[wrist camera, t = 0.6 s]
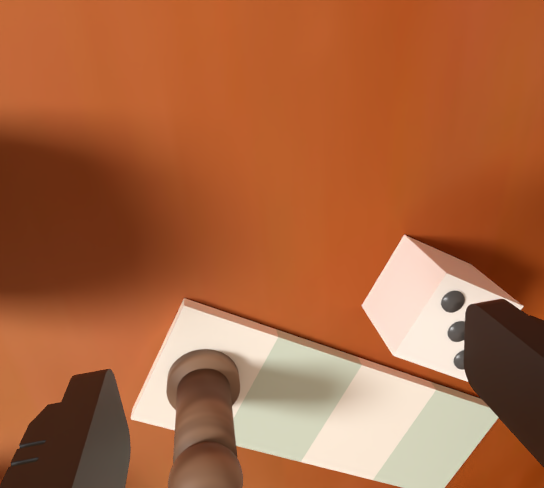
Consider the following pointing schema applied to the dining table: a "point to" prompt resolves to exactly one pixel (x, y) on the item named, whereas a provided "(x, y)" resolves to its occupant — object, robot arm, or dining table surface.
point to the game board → (324, 403)
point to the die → (428, 305)
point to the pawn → (204, 420)
